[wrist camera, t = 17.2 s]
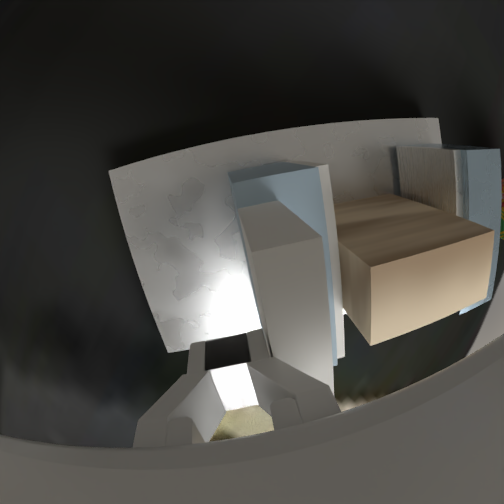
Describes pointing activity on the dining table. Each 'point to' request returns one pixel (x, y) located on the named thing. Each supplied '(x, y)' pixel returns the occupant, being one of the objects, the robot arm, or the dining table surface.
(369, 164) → the vise bed
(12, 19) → the dining table surface
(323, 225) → the block
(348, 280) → the beech block
